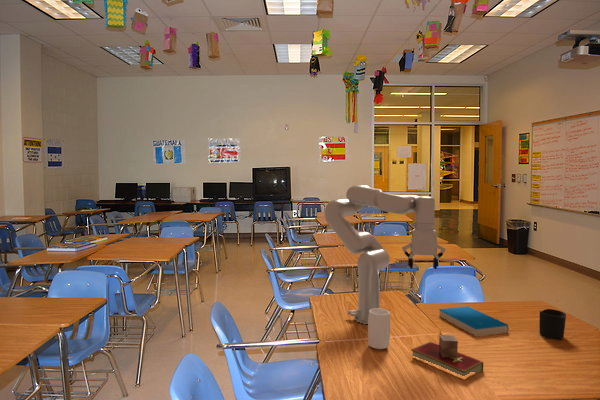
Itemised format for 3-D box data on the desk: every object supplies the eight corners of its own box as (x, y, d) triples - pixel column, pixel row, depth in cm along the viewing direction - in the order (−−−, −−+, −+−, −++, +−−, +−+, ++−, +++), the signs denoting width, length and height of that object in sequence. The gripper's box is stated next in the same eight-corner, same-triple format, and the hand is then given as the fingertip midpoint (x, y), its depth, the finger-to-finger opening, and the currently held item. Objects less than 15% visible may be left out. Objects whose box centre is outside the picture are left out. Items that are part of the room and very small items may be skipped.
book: (476, 328, 171) (438, 308, 195) (475, 338, 171) (438, 317, 195) (509, 324, 176) (468, 305, 200) (508, 334, 177) (468, 313, 200)
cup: (373, 353, 154) (374, 316, 153) (363, 344, 162) (364, 308, 161) (393, 351, 156) (394, 314, 155) (383, 342, 165) (384, 307, 164)
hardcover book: (430, 351, 159) (430, 340, 158) (483, 372, 142) (483, 360, 142) (410, 359, 151) (411, 348, 151) (464, 383, 135) (464, 370, 134)
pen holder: (568, 341, 168) (570, 317, 167) (543, 339, 170) (544, 315, 169) (559, 332, 177) (560, 309, 176) (535, 330, 179) (536, 307, 178)
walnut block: (442, 357, 144) (443, 340, 143) (438, 351, 149) (439, 334, 148) (457, 358, 143) (457, 341, 143) (453, 351, 148) (453, 335, 148)
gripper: (404, 227, 166) (403, 269, 167) (448, 228, 165) (446, 270, 166) (401, 225, 173) (399, 265, 174) (443, 226, 172) (441, 266, 173)
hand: (422, 268), depth 170 cm, fingers open, 9 cm apart
